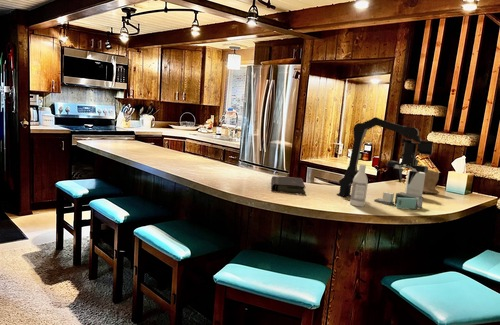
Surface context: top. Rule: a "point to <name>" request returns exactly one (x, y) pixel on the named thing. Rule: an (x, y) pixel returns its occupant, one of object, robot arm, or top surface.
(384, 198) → the fader knob
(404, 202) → the teal rectangular slab
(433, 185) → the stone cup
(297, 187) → the diary
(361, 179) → the bath foam
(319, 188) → the top surface
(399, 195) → the rack
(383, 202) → the mixer board
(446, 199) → the top surface
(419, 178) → the supplement box
